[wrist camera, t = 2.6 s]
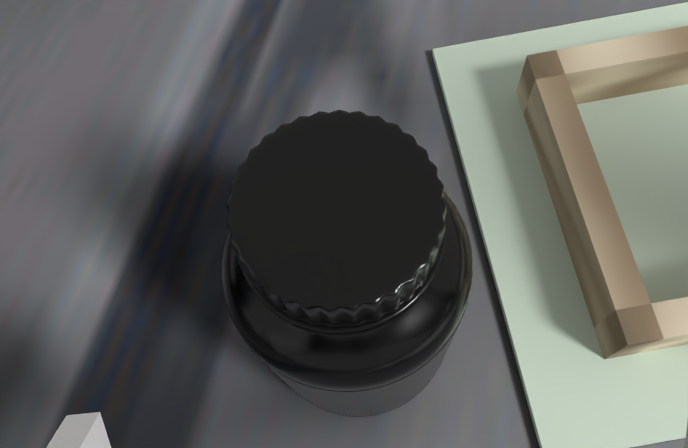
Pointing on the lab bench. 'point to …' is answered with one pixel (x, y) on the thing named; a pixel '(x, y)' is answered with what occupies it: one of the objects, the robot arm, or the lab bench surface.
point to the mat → (549, 243)
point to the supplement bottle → (345, 261)
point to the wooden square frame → (602, 178)
